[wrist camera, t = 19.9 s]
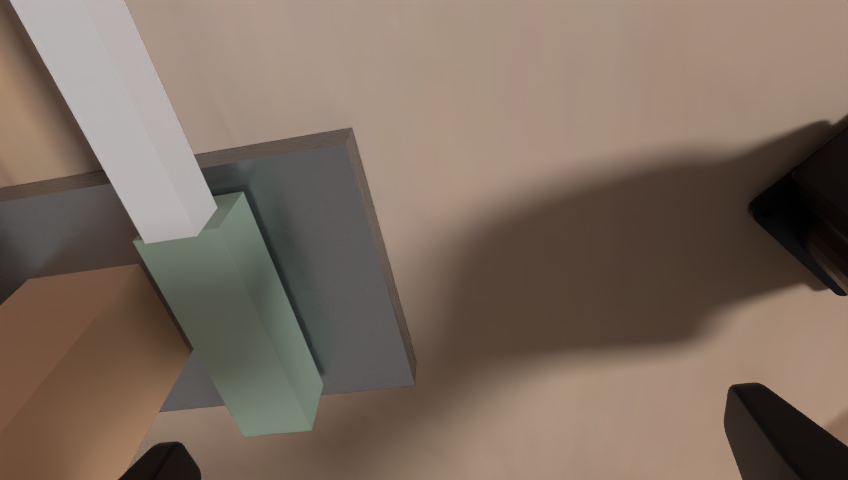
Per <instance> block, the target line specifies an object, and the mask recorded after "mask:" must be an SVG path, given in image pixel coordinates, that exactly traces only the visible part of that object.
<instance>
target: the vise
mask: <svg viewBox="0 0 848 480" xmlns="http://www.w3.org/2000/svg"><path fill="white" fill-rule="evenodd" d="M194 157H195V159H196V161H197V163H198V166H199V168H200V170H201V172H202V174H203V177H204V179H205V181H206V183H207V186H208V188H209V190H210V192H211V194H212V196H218V195H224V194H230V193H236V192H244V195H245V197H246V199H247V202H248V204H249V207H250V209H251V212H252V214H253V216H254V219H255V221H256V224H257V226H258V228H259V231H260V233H261V236H262V238H263V240H264V243H265V245H266V248H267V250H268V252H269V255H270V257H271V260H272V262H273V264H274V267H275V269H276V272H277V274H278V276H279V279H280V281H281V284H282V286H283V289H284V291H285V293H286V296H287V298H288V301H289V303H290V305H291V308H292V310H293V313H294V315H295V317H296V320H297V322H298V325H299V327H300V329H301V332H302V334H303V337H304V339H305V341H306V344H307V346H308V349H309V351H310V353H311V356H312V358H313V361H314V363H315V366H316V368H317V370H318V373H319V375H320V378H321V380H322V382H323V388H322V392H321V395H328V394H338V393H348V392H357V391H367V390H376V389H386V388H395V387H405V386H415V377H416V363H417V361H416V358H415V354H414V350H413V347H412V343H411V339H410V336H409V332H408V329H407V325H406V321H405V318H404V314H403V310H402V307H401V303H400V300H399V296H398V292H397V289H396V285H395V281H394V278H393V274H392V271H391V267H390V263H389V260H388V256H387V252H386V249H385V245H384V242H383V238H382V234H381V231H380V227H379V223H378V220H377V216H376V213H375V209H374V205H373V202H372V198H371V194H370V191H369V187H368V184H367V180H366V176H365V173H364V169H363V165H362V162H361V158H360V155H359V151H358V147H357V144H356V140H355V136H354V133H353V129H352V128H348V129H342V130H336V131H330V132H324V133H319V134H313V135H307V136H301V137H295V138H289V139H284V140H278V141H272V142H266V143H260V144H255V145H249V146H243V147H237V148H231V149H225V150H220V151H214V152H208V153H202V154H196V155H194ZM138 235H139V232H138V230H137V228H136V226H135V225H134V223H133V221H132V219H131V217H130V216H129V214H128V212H127V210H126V208H125V207H124V205H123V203H122V201H121V199H120V198H119V196H118V194H117V192H116V190H115V189H114V187H113V185H112V183H111V181H110V180H109V178H108V176H107V174H106V172H105V171H104V170H103V171H97V172H92V173H86V174H80V175H74V176H68V177H63V178H57V179H51V180H45V181H39V182H33V183H28V184H22V185H16V186H10V187H4V188H0V305H1V304H2V303H4V302H5V301H6V300H7V299H8V298H9V297H10V296H11V295H12V294H13V293H14V292H15V291H16V290H17V289H18V288H20V287H21V286H22V285H23V284H24V283H25V282H26V281H27V280H28V279H34V278H41V277H48V276H55V275H62V274H69V273H76V272H83V271H90V270H97V269H104V268H111V267H118V266H125V265H132V264H140V266H141V267H142V269H143V271H144V272H145V274H146V276H147V278H148V279H149V281H150V283H151V285H152V286H153V288H154V290H155V292H156V293H157V295H158V297H159V299H160V300H161V302H162V304H163V306H164V307H165V309H166V311H167V313H168V314H169V316H170V318H171V320H172V321H173V323H174V325H175V327H176V328H177V330H178V332H179V334H180V335H181V337H182V339H183V341H184V342H185V344H186V346H187V348H188V349H189V351H190V353H191V354H190V356H189V358H188V360H187V362H186V363H185V365H184V367H183V369H182V371H181V372H180V374H179V376H178V378H177V380H176V381H175V383H174V385H173V387H172V389H171V391H170V392H169V394H168V396H167V398H166V400H165V401H164V403H163V405H162V407H161V409H160V411H159V412H166V411H175V410H185V409H195V408H204V407H214V406H223V405H225V403H224V401H223V399H222V397H221V396H220V394H219V392H218V390H217V389H216V387H215V385H214V383H213V382H212V380H211V378H210V376H209V375H208V373H207V371H206V369H205V368H204V366H203V364H202V362H201V361H200V359H199V357H198V355H197V354H196V352H195V350H194V348H193V347H192V345H191V343H190V341H189V339H188V338H187V336H186V334H185V332H184V331H183V329H182V327H181V325H180V324H179V322H178V320H177V318H176V317H175V315H174V313H173V311H172V310H171V308H170V306H169V304H168V303H167V301H166V299H165V297H164V296H163V294H162V292H161V290H160V289H159V287H158V285H157V283H156V281H155V280H154V278H153V276H152V274H151V273H150V271H149V269H148V267H147V266H146V264H145V262H144V260H143V259H142V257H141V255H140V253H139V252H138V250H137V248H136V246H135V245H134V243H133V240H134V239H135V238H136V237H137V236H138Z"/></svg>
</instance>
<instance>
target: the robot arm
mask: <svg viewBox="0 0 848 480" xmlns="http://www.w3.org/2000/svg"><path fill="white" fill-rule="evenodd" d="M766 206H769V208H768V209H767V210H766V211H764V212H760V211H761V210H762V209H763V208H764V207H766ZM748 212H749V214H750V215H751V217H752V218H753V219H754V220H755V221H756V222H757V223H758V224H759V225H761V226H762V227H763V228H764V229H765V230H766V231H767V232H768V233H769V234H770V235H772V236H773V237H774V238H775V239H776V240H777V241H778V242H779V243H780V244H781V245H782V246H784V247H785V248H786V249H787V250H788V251H789V252H790V253H791V254H792V255H793V256H795V257H796V258H797V259H798V260H799V261H800V262H801V263H802V264H803V265H804V266H806V267H807V268H808V269H809V270H810V271H811V272H812V273H813V274H814V275H815V276H817V277H818V278H819V279H820V280H821V281H822V282H823V283H824V284H825V285H826V286H827V287H829V288H830V289H831V290H832V291H833V292H834V293H835V294H837V295H839V296H847V295H848V128H847V129H845V130H844V131H843V132H841V133H840V134H839V135H838V136H836V137H835V138H834V139H832V140H831V141H830V142H828V143H827V144H826V145H825V146H823V147H822V148H821V149H819V150H818V151H817V152H815V153H814V154H813V155H811V156H810V157H809V158H808V159H806V160H805V161H804V162H802V163H801V164H800V165H798V166H797V167H796V168H795V169H793V170H792V171H791V172H789V173H788V174H787V175H785V176H784V177H783V178H781V179H780V180H779V181H778V182H776V183H775V184H774V185H772V186H771V187H770V188H768V189H767V190H766V191H765V192H763V193H762V194H761V195H759V196H758V197H757V198H755V199H754V200H753V201H752V202H751V203H750V205H749V207H748ZM724 428H725V432H726V436H727V439H728V441H729V444H730V447H731V449H732V452H733V455H734V458H735V460H736V463H737V466H738V469H739V471H740V474H741V477H742V479H743V480H848V447H847V446H846V445H845V444H843V443H842V442H841V441H839V440H838V439H837V438H835V437H834V436H832V435H831V434H830V433H828V432H827V431H826V430H824V429H823V428H822V427H820V426H819V425H817V424H816V423H815V422H813V421H812V420H811V419H809V418H808V417H807V416H805V415H804V414H803V413H801V412H800V411H798V410H797V409H796V408H794V407H793V406H792V405H790V404H789V403H788V402H786V401H785V400H783V399H782V398H781V397H779V396H778V395H777V394H775V393H774V392H773V391H771V390H770V389H768V388H767V387H766V386H764V385H762V384H760V383H744V384H735V385H732V386H731V387H730V388H729V390H728V394H727V401H726V408H725V415H724ZM118 480H201V473H200V469H199V467H198V466H197V464H196V463H195V461H194V460H193V458H192V457H191V455H190V454H189V452H188V451H187V449H186V448H185V446H184V445H183V444H182V443H180V442H166V443H159V444H156V445H154V446H153V447H152V448H150V449H149V450H148V451H147V452H146V453H145V454H144V455H143V456H142V457H141V458H140V459H139V460H138V461H137V462H136V463H135V464H134V465H133V466H132V467H131V468H129V469H128V470H127V471H126V472H125V473H124V474H123V475H122V476H121V477H120V478H119V479H118Z"/></svg>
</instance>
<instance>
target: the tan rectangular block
mask: <svg viewBox="0 0 848 480" xmlns="http://www.w3.org/2000/svg"><path fill="white" fill-rule="evenodd" d="M190 354H191V353H190V351H189V349H188V348H187V346H186V344H185V342H184V341H183V339H182V337H181V335H180V334H179V332H178V330H177V328H176V327H175V325H174V323H173V321H172V320H171V318H170V316H169V314H168V313H167V311H166V309H165V307H164V306H163V304H162V302H161V300H160V299H159V297H158V295H157V293H156V292H155V290H154V288H153V286H152V285H151V283H150V281H149V279H148V278H147V276H146V274H145V272H144V271H143V269H142V267H141V266H140V264H132V265H125V266H118V267H111V268H104V269H97V270H90V271H83V272H76V273H69V274H62V275H55V276H48V277H41V278H34V279H28V280H27V281H26V282H25V283H24V284H23V285H22V286H21V287H20V288H18V289H17V290H16V291H15V292H14V293H13V294H12V295H11V296H10V297H9V298H8V299H7V300H6V301H5V302H4V303H2V304H1V305H0V480H118V479H119V478H120V477H121V476H122V475H123V474H124V473H125V472H126V470H127V469H128V467H129V465H130V463H131V461H132V460H133V458H134V456H135V454H136V452H137V450H138V449H139V447H140V445H141V443H142V441H143V440H144V438H145V436H146V434H147V432H148V430H149V429H150V427H151V425H152V423H153V421H154V420H155V418H156V416H157V414H158V412H159V411H160V409H161V407H162V405H163V403H164V401H165V400H166V398H167V396H168V394H169V392H170V391H171V389H172V387H173V385H174V383H175V381H176V380H177V378H178V376H179V374H180V372H181V371H182V369H183V367H184V365H185V363H186V362H187V360H188V358H189V356H190Z"/></svg>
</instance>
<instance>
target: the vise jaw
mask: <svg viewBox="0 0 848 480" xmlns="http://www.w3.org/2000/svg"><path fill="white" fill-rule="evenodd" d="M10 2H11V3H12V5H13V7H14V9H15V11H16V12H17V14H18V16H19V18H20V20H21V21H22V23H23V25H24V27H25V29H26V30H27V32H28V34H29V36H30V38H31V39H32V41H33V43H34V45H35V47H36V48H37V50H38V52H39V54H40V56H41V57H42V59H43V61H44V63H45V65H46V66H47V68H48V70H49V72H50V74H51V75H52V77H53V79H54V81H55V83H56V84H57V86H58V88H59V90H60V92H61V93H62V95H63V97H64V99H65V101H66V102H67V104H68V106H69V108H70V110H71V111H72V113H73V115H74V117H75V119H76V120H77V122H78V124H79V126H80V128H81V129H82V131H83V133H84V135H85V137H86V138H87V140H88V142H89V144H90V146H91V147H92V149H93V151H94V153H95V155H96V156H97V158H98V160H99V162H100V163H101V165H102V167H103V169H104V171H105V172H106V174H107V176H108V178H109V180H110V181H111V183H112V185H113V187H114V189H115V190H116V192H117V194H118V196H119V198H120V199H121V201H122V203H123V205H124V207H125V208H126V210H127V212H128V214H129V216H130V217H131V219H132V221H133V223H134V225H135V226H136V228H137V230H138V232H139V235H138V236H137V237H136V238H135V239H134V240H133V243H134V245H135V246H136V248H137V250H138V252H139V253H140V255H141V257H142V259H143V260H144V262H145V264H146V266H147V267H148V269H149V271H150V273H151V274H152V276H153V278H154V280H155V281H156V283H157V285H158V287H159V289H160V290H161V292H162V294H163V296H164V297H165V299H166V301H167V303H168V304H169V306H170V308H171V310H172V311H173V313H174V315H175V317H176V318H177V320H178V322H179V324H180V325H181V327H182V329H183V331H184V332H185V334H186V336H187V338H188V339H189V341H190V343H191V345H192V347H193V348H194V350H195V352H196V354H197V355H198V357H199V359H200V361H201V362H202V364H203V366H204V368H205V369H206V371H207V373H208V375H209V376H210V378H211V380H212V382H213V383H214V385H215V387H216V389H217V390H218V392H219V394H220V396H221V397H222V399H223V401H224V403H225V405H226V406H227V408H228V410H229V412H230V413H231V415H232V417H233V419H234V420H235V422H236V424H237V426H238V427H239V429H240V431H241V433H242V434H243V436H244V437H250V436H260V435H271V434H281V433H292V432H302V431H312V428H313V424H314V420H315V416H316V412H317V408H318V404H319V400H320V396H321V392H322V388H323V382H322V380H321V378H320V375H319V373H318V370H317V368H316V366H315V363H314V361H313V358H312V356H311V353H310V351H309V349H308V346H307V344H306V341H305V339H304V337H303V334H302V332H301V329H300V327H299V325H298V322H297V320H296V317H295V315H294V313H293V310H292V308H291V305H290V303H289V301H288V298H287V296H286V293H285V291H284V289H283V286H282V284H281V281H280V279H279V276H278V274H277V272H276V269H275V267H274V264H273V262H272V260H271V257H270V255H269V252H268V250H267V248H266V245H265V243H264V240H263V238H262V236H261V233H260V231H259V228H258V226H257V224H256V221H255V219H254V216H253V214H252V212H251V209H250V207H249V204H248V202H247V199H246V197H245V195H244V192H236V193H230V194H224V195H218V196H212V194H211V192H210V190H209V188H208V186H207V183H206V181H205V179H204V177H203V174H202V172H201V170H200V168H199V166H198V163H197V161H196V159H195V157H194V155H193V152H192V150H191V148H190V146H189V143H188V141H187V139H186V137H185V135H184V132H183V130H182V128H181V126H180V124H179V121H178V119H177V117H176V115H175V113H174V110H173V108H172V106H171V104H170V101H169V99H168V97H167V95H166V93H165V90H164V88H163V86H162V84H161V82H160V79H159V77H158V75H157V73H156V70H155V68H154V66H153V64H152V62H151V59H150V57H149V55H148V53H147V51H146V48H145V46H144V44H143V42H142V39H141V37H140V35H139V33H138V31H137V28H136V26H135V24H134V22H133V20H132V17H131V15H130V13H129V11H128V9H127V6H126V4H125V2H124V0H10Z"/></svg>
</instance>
